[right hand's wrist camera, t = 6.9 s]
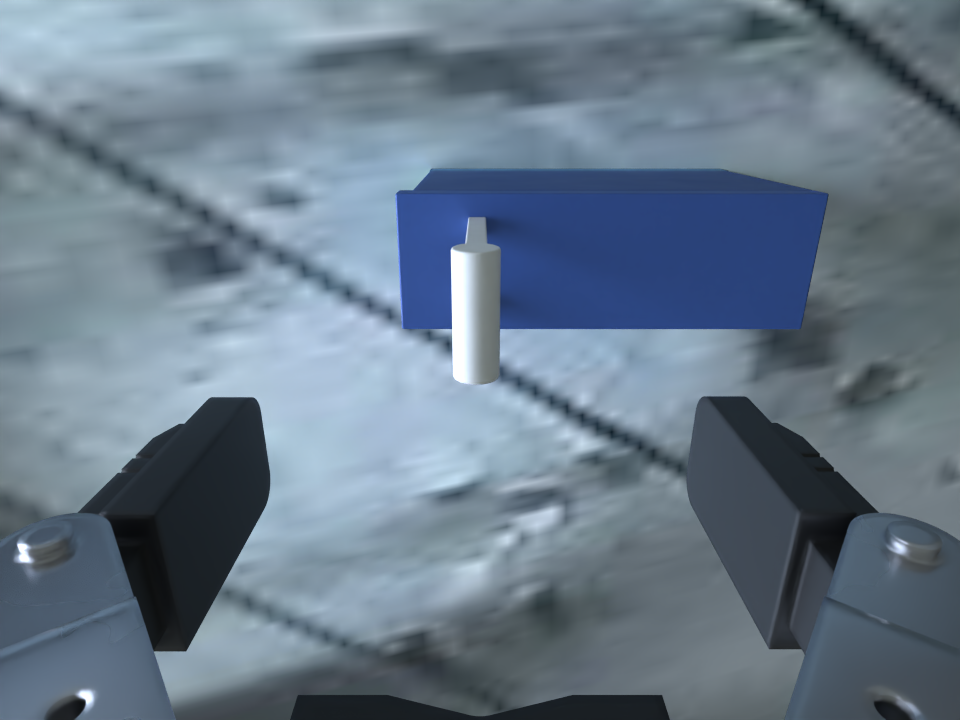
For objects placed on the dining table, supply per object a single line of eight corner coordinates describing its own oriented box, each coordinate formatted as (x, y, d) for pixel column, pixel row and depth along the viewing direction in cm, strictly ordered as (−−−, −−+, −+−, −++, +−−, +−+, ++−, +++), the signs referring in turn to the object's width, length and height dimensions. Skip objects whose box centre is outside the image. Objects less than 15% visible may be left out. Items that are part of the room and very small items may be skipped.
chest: (434, 266, 37) (417, 321, 27) (431, 168, 35) (412, 189, 25) (706, 266, 37) (788, 321, 27) (720, 168, 35) (814, 189, 25)
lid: (405, 321, 27) (373, 407, 19) (398, 190, 25) (359, 225, 17) (789, 321, 27) (919, 408, 19) (815, 190, 25) (973, 225, 17)
